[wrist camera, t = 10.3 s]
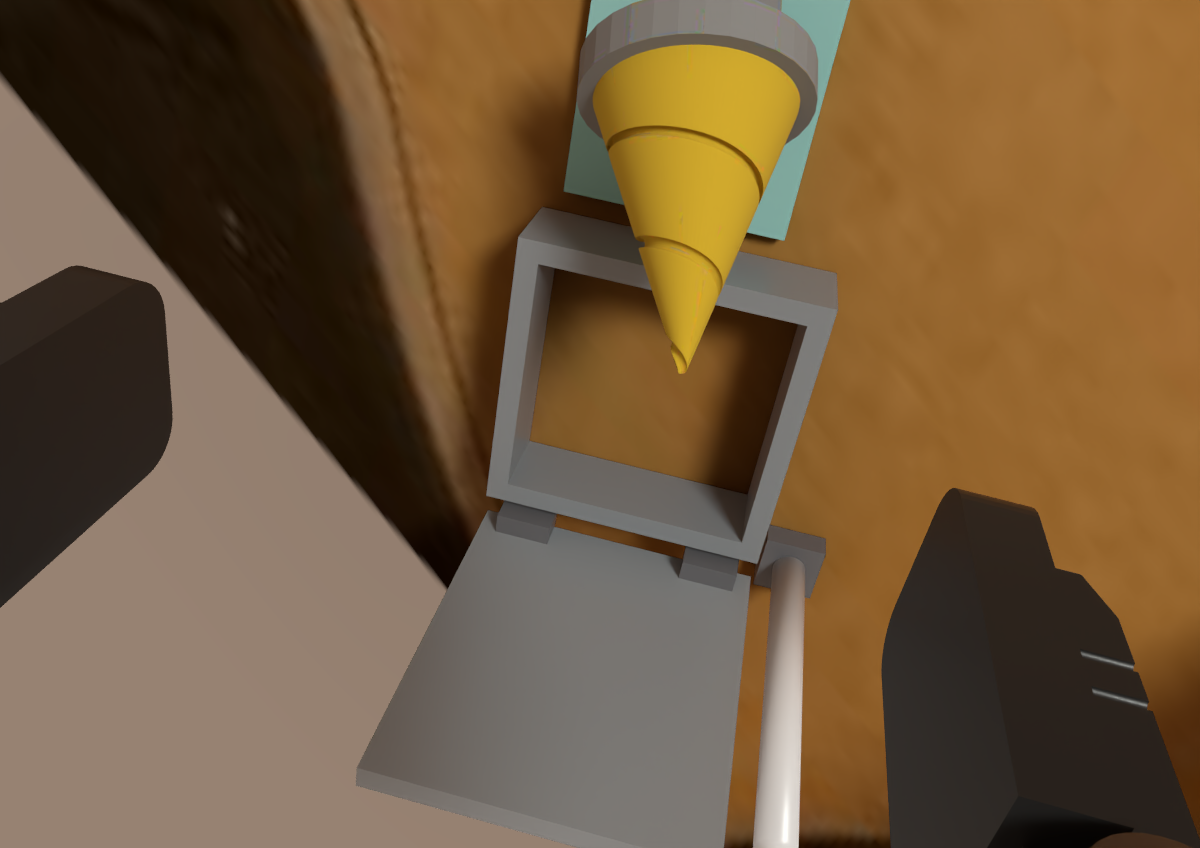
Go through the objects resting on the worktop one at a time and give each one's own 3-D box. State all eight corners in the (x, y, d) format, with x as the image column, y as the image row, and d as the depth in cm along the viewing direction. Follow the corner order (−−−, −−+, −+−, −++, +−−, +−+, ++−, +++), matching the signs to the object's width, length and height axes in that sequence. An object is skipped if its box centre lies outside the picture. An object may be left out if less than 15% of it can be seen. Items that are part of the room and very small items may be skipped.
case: (914, 290, 26) (972, 569, 16) (809, 582, 32) (803, 929, 21) (542, 206, 27) (372, 420, 17) (501, 504, 32) (355, 802, 22)
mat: (850, -5, 23) (851, -3, 23) (784, 235, 26) (784, 240, 26) (602, -55, 24) (599, -54, 23) (566, 187, 27) (563, 191, 26)
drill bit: (866, -33, 23) (863, 383, 20) (692, 57, 27) (674, 415, 24) (716, -172, 19) (692, 312, 17) (541, -45, 23) (503, 362, 21)
